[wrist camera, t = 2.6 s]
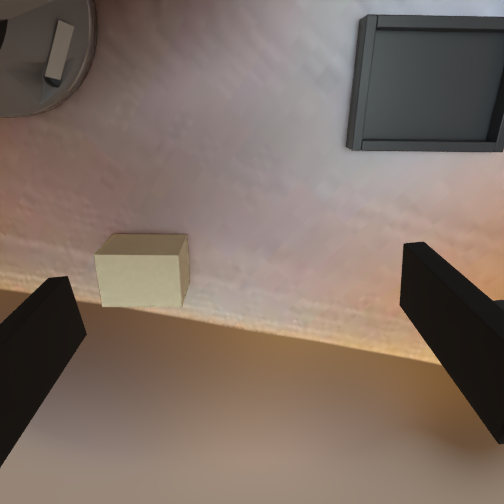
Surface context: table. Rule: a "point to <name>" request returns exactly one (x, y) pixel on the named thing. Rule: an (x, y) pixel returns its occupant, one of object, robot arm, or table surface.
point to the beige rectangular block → (143, 270)
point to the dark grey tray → (428, 84)
